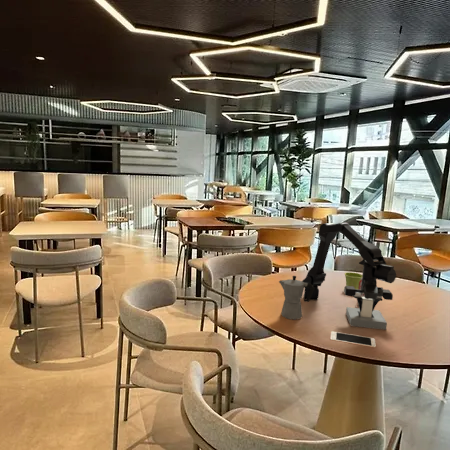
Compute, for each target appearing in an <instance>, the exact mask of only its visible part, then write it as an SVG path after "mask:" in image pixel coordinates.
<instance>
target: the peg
mask: <svg viewBox="0 0 450 450" xmlns="http://www.w3.org/2000/svg"><path fill="white" fill-rule="evenodd" d="M372 307H373V300H372V299H366V298H365V297H362V310H361V312H360V316H361V317H370V318H371V316H372Z"/></svg>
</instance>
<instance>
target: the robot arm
mask: <svg viewBox="0 0 450 450" xmlns="http://www.w3.org/2000/svg"><path fill="white" fill-rule="evenodd" d="M338 233H341V235H343V236H344V237H345V238H346V239H347V240H348V241H349V242H351V243H350V244H352V245H353V246H355V248H356V249H357V250H358V254H359V256H360V257H361V258H362V260H361V261H359V262H358V264H359V265H362V266H363V267H362V274H361V275H362V284H361V290H360V289H355V288H354V286H346V285H345V286H344V288H343V293H344V295H345V296H348V297H354V299H356V301H357V305H358V308H359V309H360V312H361V310H362V297H361V294H364V295H365V298H366V299H372V300H373V307H372V312H373V310H375V308H376V306H377V305H378V303H379V302H382V301H383V300H388V301H393V298H394V297H393V293H392V292H391V290H390V289H385V288H383V287H380V286H377V283H378V282H377V280H379V281H381V282H385V283H388V284H392V283H394V282H395V281H396V279H397V271H396V270H395V268H394V266H393V265H387V262H386V260H385V258H384V255H383V254H382V253H383V252H382V250H381V249H380V247H378V246H376V245H375V244H374V243H371V242H368V241H367V240H366V239H365V238H363V237H362V236H361V235H360V234H359V233H358V232H357V231H356V230H355V229H353V227H352V226H350V224H349V223H348V222H338V223H335V222H328V223H327V222H325V223H322V224H320V225H319V231H318V236H319V237H318V238H319V243H318V246H317V250H316V255H315V258H314V262H313V265H312V267H311V268H310V269H309V270H308V272H307V274H306V276H305V278H304V279H303V280H301V281H302V282H304V283H311V284H312V285H313V287H314V288H315V289H314V292H313V294H312V296H311V298H310V300H312V301H318V298H319V295H320V290H319V287H321V286H322V284H323V283H324V282H325V281H326V276H327V273H326V272H325V271H324V267H325V264H326V261H327V256H328V253H329V250H330V246H331V243H332V242H333V240H334V239H336V237H337V234H338ZM309 291H310V288H304V290H303V300H304V299H307V296H308V294H309ZM310 300H309V301H310Z"/></svg>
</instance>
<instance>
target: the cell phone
mask: <svg viewBox="0 0 450 450" xmlns="http://www.w3.org/2000/svg"><path fill="white" fill-rule="evenodd" d="M330 341H335V342H342V343H348V344H354V345H359V346H364V347H371V348H377V347H376V346H377V345H376V339H375V338H374V337H370V336H365V335H364V336H362V335H357V334H351V333H350V334H349V333H345V332H339V331H334V330H333V331H330Z"/></svg>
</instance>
